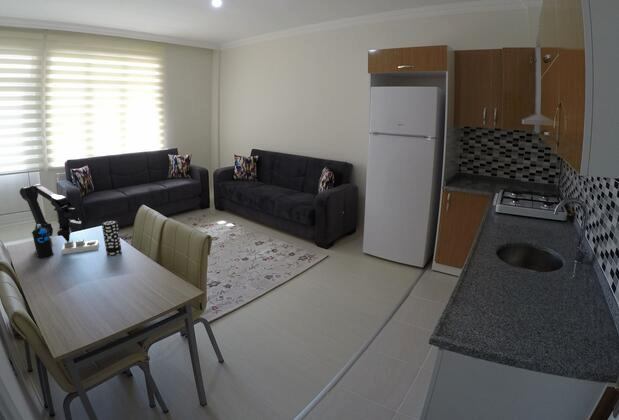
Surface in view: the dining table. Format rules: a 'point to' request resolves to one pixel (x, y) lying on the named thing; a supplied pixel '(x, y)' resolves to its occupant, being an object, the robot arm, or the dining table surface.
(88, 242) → the key far
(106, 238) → the spotted tube
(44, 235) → the aerosol can
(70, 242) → the key near
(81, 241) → the key middle
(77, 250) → the keypad
